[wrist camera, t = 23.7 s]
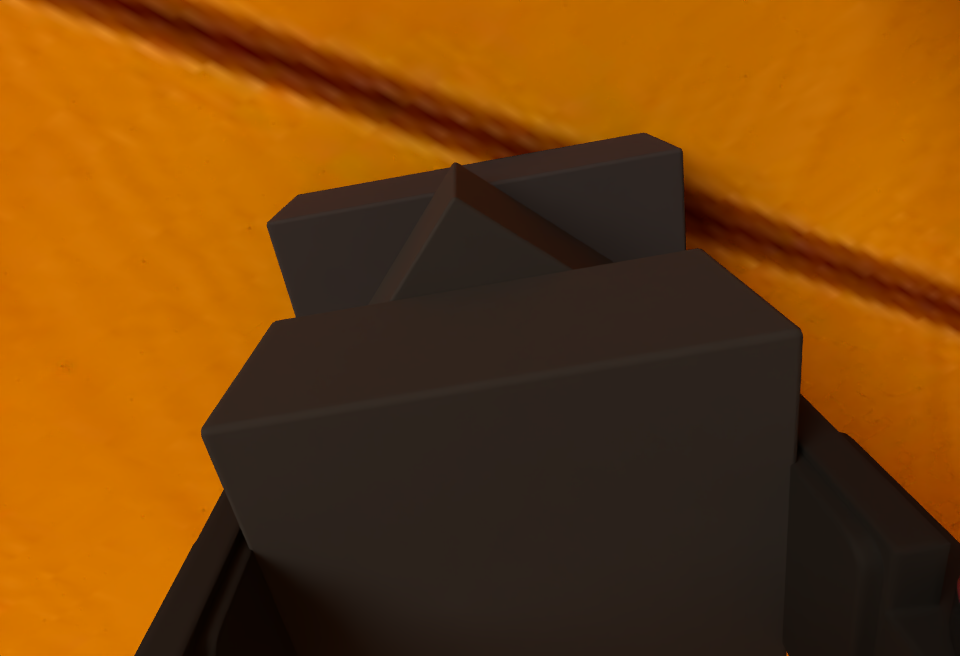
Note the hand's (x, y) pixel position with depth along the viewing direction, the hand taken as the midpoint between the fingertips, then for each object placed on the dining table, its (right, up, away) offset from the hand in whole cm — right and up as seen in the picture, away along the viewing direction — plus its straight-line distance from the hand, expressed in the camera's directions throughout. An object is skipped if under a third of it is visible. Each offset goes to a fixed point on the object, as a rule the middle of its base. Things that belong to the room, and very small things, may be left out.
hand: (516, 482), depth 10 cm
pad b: (0, 0, +1) cm, 1 cm away
